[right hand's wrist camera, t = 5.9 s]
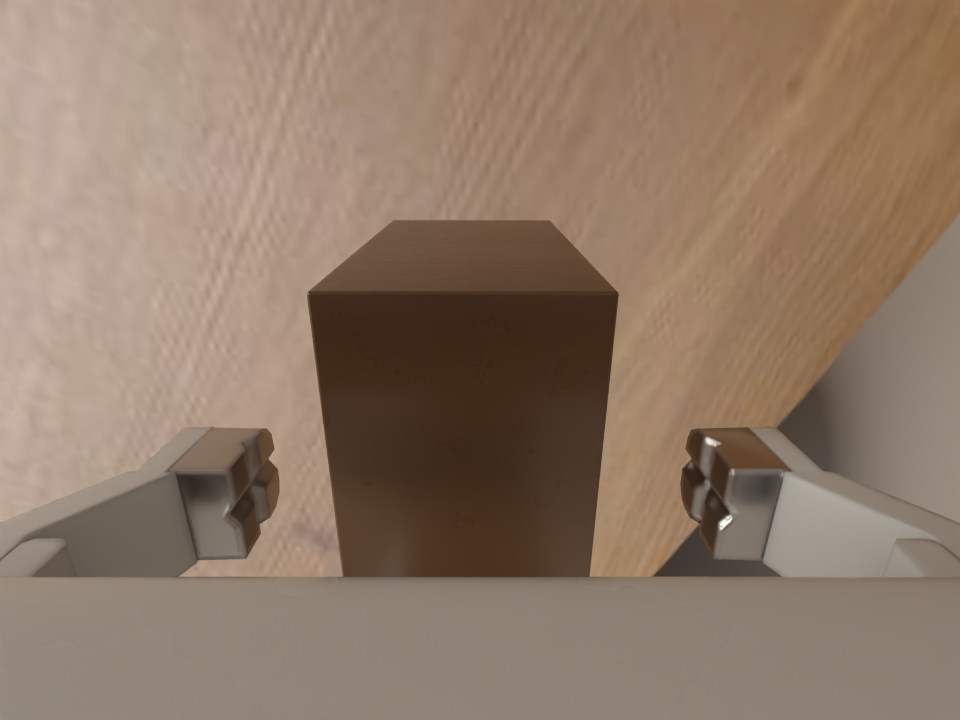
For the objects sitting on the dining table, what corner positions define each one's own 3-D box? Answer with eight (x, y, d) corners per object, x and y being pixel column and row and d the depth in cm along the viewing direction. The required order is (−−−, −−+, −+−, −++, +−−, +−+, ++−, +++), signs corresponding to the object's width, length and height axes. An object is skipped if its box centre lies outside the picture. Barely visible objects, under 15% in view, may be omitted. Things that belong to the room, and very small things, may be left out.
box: (392, 220, 19) (306, 291, 10) (550, 220, 19) (620, 292, 10) (417, 641, 27) (384, 907, 18) (529, 641, 27) (555, 908, 18)
